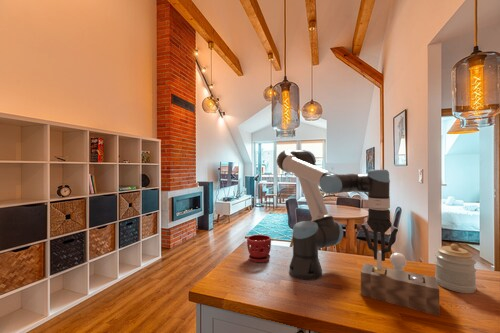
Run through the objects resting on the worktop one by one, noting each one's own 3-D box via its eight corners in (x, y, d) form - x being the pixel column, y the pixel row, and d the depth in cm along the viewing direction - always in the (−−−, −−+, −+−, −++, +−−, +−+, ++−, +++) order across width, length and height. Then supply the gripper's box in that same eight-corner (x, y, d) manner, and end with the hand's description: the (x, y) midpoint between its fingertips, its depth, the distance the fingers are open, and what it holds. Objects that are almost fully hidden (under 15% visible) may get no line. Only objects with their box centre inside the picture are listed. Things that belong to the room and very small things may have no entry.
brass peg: (372, 289, 91) (372, 269, 91) (373, 285, 95) (373, 265, 95) (385, 293, 89) (385, 272, 89) (386, 288, 93) (386, 268, 93)
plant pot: (275, 257, 129) (274, 235, 129) (264, 266, 118) (263, 242, 118) (254, 253, 136) (254, 232, 136) (242, 260, 125) (242, 238, 125)
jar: (437, 275, 107) (437, 237, 107) (476, 285, 98) (476, 243, 98) (432, 285, 98) (432, 243, 98) (475, 298, 88) (475, 251, 89)
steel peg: (409, 300, 85) (409, 278, 85) (409, 294, 88) (409, 273, 88) (424, 304, 82) (424, 281, 82) (423, 298, 86) (423, 276, 86)
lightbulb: (409, 281, 102) (409, 256, 102) (393, 280, 103) (393, 255, 103) (402, 274, 108) (402, 251, 108) (387, 273, 109) (387, 250, 109)
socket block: (360, 295, 91) (360, 272, 91) (364, 284, 99) (364, 263, 99) (439, 316, 78) (439, 289, 78) (436, 301, 86) (435, 277, 86)
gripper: (359, 208, 92) (360, 267, 92) (398, 211, 85) (399, 276, 85) (362, 205, 99) (362, 261, 99) (398, 208, 92) (399, 268, 91)
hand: (379, 268), depth 92 cm, fingers closed
